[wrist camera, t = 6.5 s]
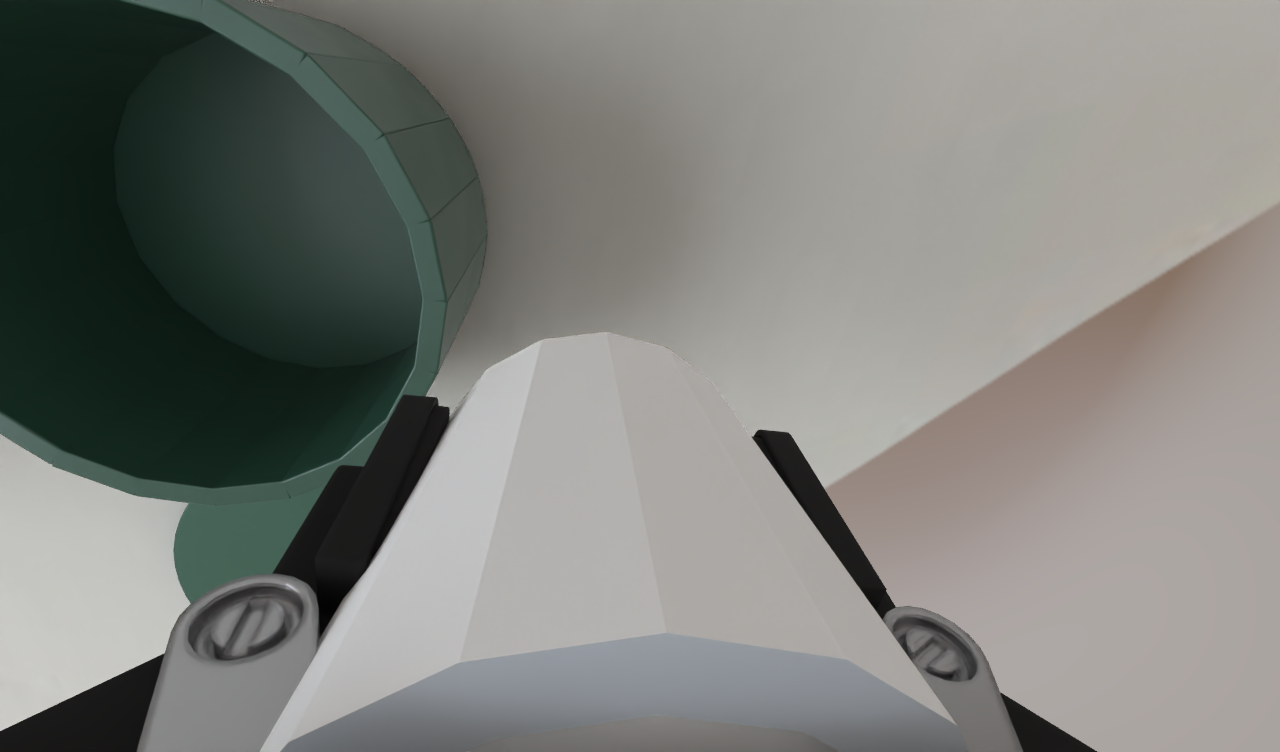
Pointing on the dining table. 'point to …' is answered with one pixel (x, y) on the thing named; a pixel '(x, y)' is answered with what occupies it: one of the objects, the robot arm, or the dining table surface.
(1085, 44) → the dining table surface
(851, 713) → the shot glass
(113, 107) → the tin
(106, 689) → the robot arm
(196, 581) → the lid
